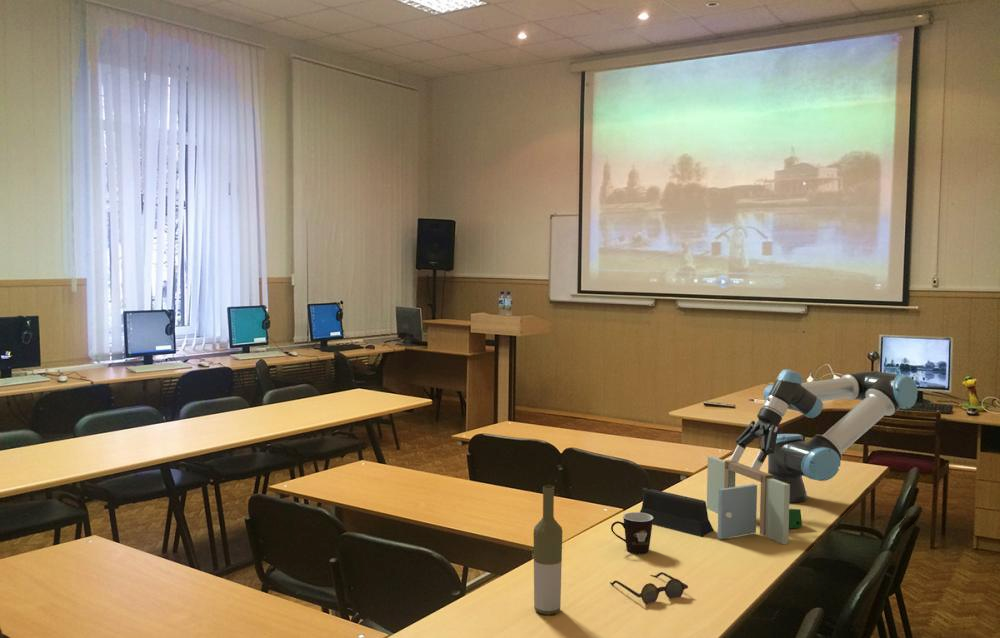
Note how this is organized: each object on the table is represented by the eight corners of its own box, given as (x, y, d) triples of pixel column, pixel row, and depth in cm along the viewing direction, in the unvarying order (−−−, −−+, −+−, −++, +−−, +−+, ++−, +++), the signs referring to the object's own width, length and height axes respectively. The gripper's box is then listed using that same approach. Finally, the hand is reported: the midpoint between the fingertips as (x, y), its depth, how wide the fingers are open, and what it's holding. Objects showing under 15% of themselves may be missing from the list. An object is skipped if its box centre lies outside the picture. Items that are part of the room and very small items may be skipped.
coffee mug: (654, 547, 224) (655, 514, 223) (650, 557, 216) (651, 522, 215) (615, 542, 228) (615, 509, 227) (610, 552, 219) (610, 518, 219)
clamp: (787, 537, 246) (794, 510, 248) (798, 539, 240) (805, 511, 243) (755, 524, 245) (762, 497, 247) (765, 525, 239) (772, 498, 241)
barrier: (714, 531, 239) (715, 500, 239) (701, 538, 233) (701, 506, 232) (649, 515, 255) (649, 486, 255) (635, 521, 249) (635, 491, 248)
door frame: (712, 507, 263) (713, 453, 262) (789, 543, 228) (790, 481, 227) (705, 508, 262) (706, 454, 261) (781, 544, 227) (783, 482, 226)
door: (752, 531, 237) (753, 484, 236) (759, 534, 234) (760, 486, 233) (717, 537, 231) (718, 489, 230) (724, 540, 228) (725, 491, 227)
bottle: (528, 614, 179) (529, 489, 177) (537, 602, 185) (538, 481, 184) (557, 619, 176) (558, 492, 175) (565, 607, 183) (566, 484, 181)
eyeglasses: (638, 607, 184) (639, 587, 184) (606, 584, 197) (606, 565, 197) (687, 597, 190) (688, 578, 189) (653, 576, 203) (653, 557, 203)
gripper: (744, 403, 268) (715, 455, 265) (785, 409, 243) (754, 467, 241) (760, 414, 269) (732, 466, 266) (803, 421, 245) (772, 479, 242)
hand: (742, 467), depth 253 cm, fingers open, 13 cm apart
